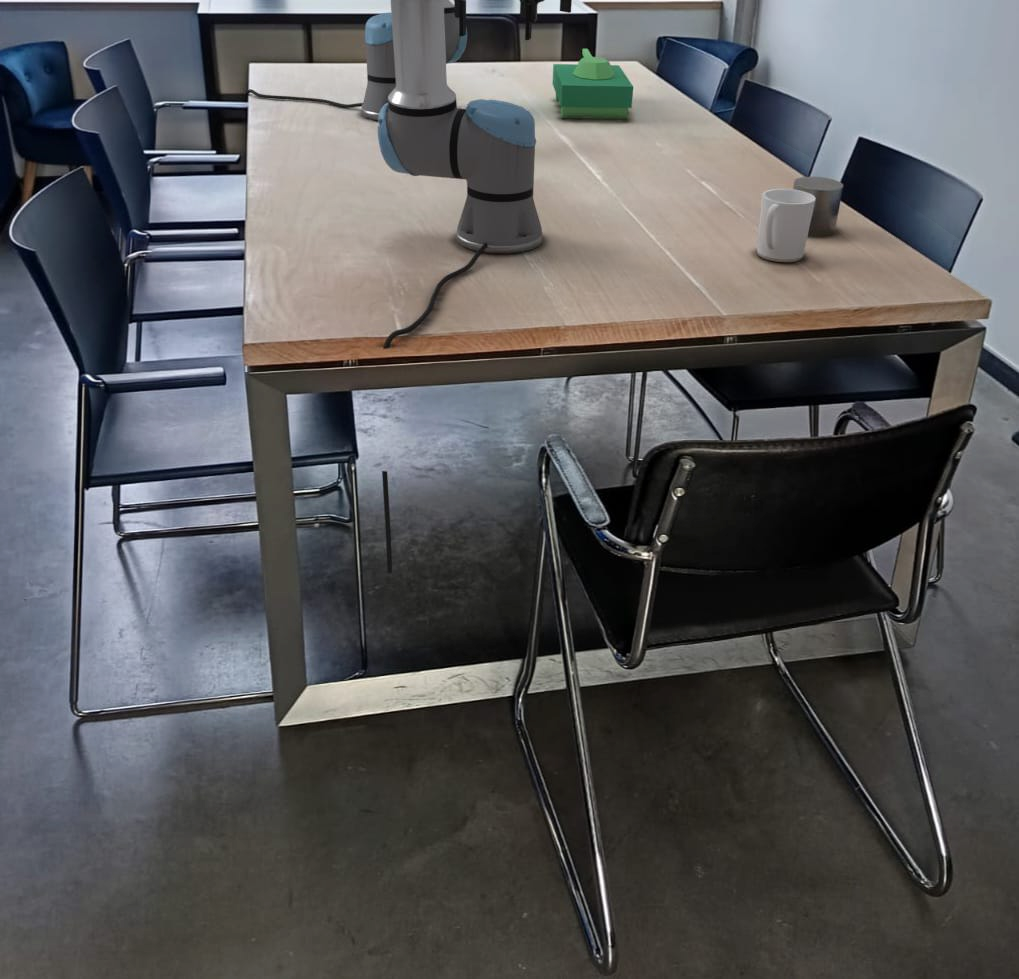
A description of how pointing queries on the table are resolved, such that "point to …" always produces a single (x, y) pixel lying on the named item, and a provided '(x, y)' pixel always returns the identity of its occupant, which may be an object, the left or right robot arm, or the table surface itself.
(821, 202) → the tin
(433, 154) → the right robot arm
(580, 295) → the table surface
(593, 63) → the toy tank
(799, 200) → the mug
